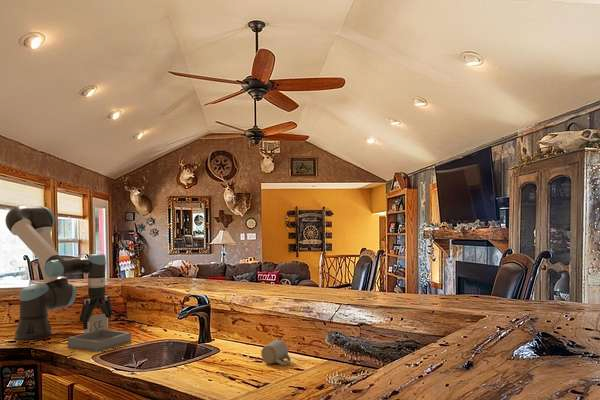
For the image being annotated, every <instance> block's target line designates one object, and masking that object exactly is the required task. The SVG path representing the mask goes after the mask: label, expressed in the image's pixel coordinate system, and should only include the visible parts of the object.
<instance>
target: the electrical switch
mask: <svg viewBox="0 0 600 400" xmlns="http://www.w3.org/2000/svg"><path fill="white" fill-rule="evenodd" d="M88 322H90V332H92V331H96V330H99V329H107V330H109V325H108V326H107V320H106V315H105V314H103V313H99V314H94V315H91V316H90V319H89V321H88Z"/></svg>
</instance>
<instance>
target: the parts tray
mask: <svg viewBox="0 0 600 400" xmlns="http://www.w3.org/2000/svg"><path fill="white" fill-rule="evenodd" d="M129 343H132V332H128V331H121V330H113V329H108V330H107V329H99V330H96V331H92V332H88V333H84V332H83V333H81V334H77V335H73V336H70V337H67V348H69V347H70V348H71V349H77V350H82V349H83V350H82V351H89V352H93V353H94V352H95V353H100V352H102V351H103V352H104V351H106V350H109V349H112V348H116V347H118V346H121V345H124V344H129Z"/></svg>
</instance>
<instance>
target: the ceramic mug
mask: <svg viewBox="0 0 600 400" xmlns="http://www.w3.org/2000/svg"><path fill="white" fill-rule="evenodd" d="M260 353H261V358H262V360H263V361H264V363H266V364H268V365H274V364H276V363H277V364H278V365H281V366H285V365H286V366H288V365H287V364H290V363H291V357H290V355H288V354H289V349H288V346H287V344H286V343H285V342H284V341H283V340H282V339H274V340H273V341H271V342H269V343H268V344H265V346H263V347H262V349H261V352H260ZM285 359H286V360H287V361H284V360H285Z"/></svg>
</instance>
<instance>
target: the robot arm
mask: <svg viewBox="0 0 600 400" xmlns="http://www.w3.org/2000/svg"><path fill="white" fill-rule="evenodd" d="M55 221H56V218H55V213H54V212H53V211H52V210H51V209H50V208H48V207H45V206H27V205H26V206H25V205H20V206H15V207H12V208H11V209H10V210H9V211H8V212H7V214H6V216H5V225H6V228H7V229H8V231H9V232H10V233H11V234H12V235H13V236H17V237H18V238H19V239H20V241H22V242H23V244H25V246H26V247H27V248H28V250H30V251H31V253H33V254H34V255H35V257H37V261H38V264H39V268H40V272H41V275H42V277H43V283H39V284H33V285H32V284H31V285H27V286H25V287H23V288H22V289H21V290H20V291H19V292H20V293H19V321H18V324H17V327H16V329H15V331H14V339H15V340H19V341H20V340H21V341H24V340H26V341H28V340H29V341H30V340H36V339H38V340H39V339H43V338H47V337H50V336H51V335H52V334H53V333H52V331H53V329H52V327H51V324H50V321H49V318H48V317H49V316H48V315H49V311H52V310H57V309H64V308H66V307H70V306H71V305H73V303H74V302H75V300H76V298H77V288H76V286H75V285H74V284H73V283H71V282H69V280H68V277H65V276H73V275H79V274H88V278H87V279H88V283H87V284H88V289H87V290H88V291H87V292H88V293H87V294H88V298H87V299H83V300H82V308H81V312H80V314H79V315H80V316H79V319H78V321H79V322H82V324H83V325H82V326H83V327H82V328H83V330H84V331H83V334H84V333H88V332H90V322H88V321H89V319H90V316H92V314H93V313H94V309H96V307H99V308H100V311H101V312H102V313H101V314H105V315H106V320H107V326H108V327H109V324H110V318H111V317H112V316H113V315H114V313H113V308H112V305H111V296H110V295H105V294H106V271H107V269H106V265H107V259H106V258H107V257H106V255H105V254H104V253H92V254H89V255H88V257H79V256H78V257H72V258H65V259H64V258H63V257H62V256H61V255H60V254H59V253H58V251H56V247H55V243H54V241H53V237H52V234H51V232H52V231H53V230H54V229H53V227H54V226H55Z"/></svg>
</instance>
